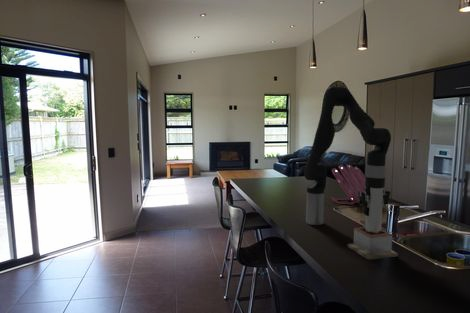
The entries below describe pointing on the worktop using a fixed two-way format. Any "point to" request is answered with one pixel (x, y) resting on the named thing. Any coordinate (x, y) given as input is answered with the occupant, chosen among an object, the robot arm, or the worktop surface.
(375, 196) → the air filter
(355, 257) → the worktop surface
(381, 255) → the base board
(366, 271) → the worktop surface
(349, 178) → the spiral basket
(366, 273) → the worktop surface
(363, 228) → the sleeve
